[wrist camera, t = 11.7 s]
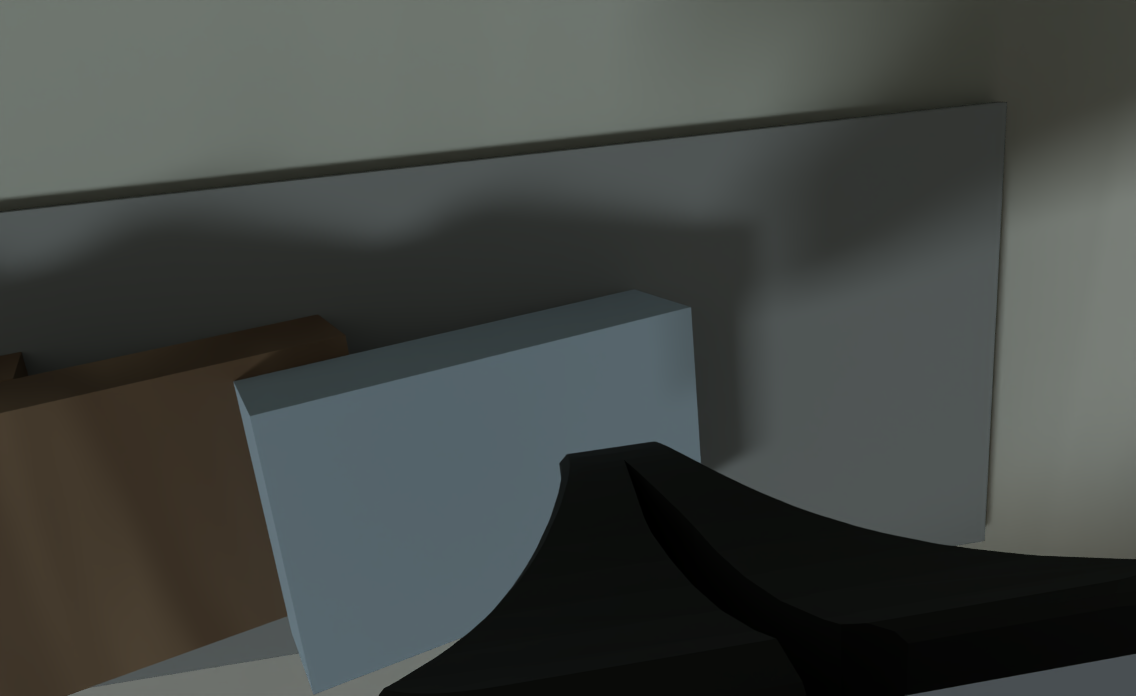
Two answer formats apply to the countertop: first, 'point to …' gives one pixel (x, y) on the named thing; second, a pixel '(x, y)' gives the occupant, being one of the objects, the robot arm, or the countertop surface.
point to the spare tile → (448, 465)
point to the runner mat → (605, 291)
